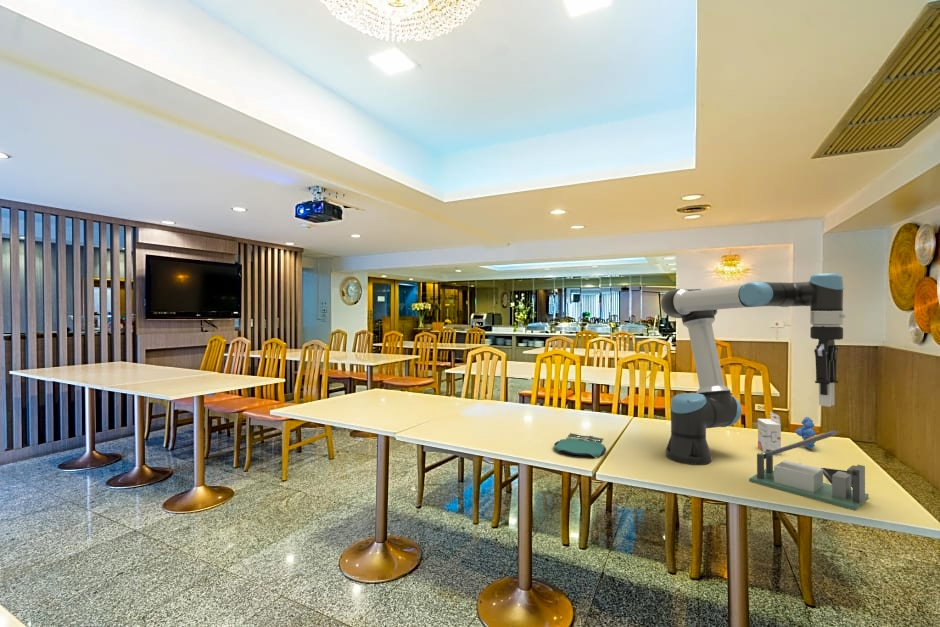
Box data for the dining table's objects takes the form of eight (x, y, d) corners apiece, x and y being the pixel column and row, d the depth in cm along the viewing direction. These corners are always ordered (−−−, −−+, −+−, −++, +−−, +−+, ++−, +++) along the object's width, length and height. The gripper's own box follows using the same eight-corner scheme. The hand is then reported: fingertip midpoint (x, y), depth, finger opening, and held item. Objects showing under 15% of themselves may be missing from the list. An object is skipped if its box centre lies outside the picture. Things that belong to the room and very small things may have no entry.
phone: (831, 482, 137) (819, 467, 150) (831, 486, 137) (819, 470, 150) (864, 486, 133) (849, 471, 147) (864, 490, 133) (849, 474, 147)
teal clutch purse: (548, 454, 167) (548, 448, 167) (565, 435, 194) (565, 430, 194) (602, 462, 159) (602, 456, 159) (612, 441, 186) (612, 436, 186)
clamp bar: (761, 460, 141) (757, 454, 142) (767, 457, 144) (763, 451, 145) (833, 437, 126) (829, 431, 127) (838, 434, 129) (834, 428, 130)
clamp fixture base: (749, 481, 140) (749, 450, 140) (766, 471, 148) (766, 442, 148) (855, 510, 119) (855, 473, 119) (868, 497, 127) (868, 463, 127)
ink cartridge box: (756, 447, 175) (756, 410, 175) (770, 448, 174) (770, 411, 174) (766, 454, 166) (766, 415, 166) (781, 455, 165) (781, 416, 165)
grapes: (792, 442, 181) (792, 413, 181) (812, 444, 178) (812, 415, 178) (797, 450, 171) (797, 419, 171) (819, 452, 168) (819, 421, 168)
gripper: (834, 326, 122) (834, 410, 122) (850, 325, 131) (850, 403, 131) (802, 326, 128) (802, 406, 128) (819, 325, 137) (819, 400, 137)
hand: (826, 405), depth 129 cm, fingers open, 3 cm apart
